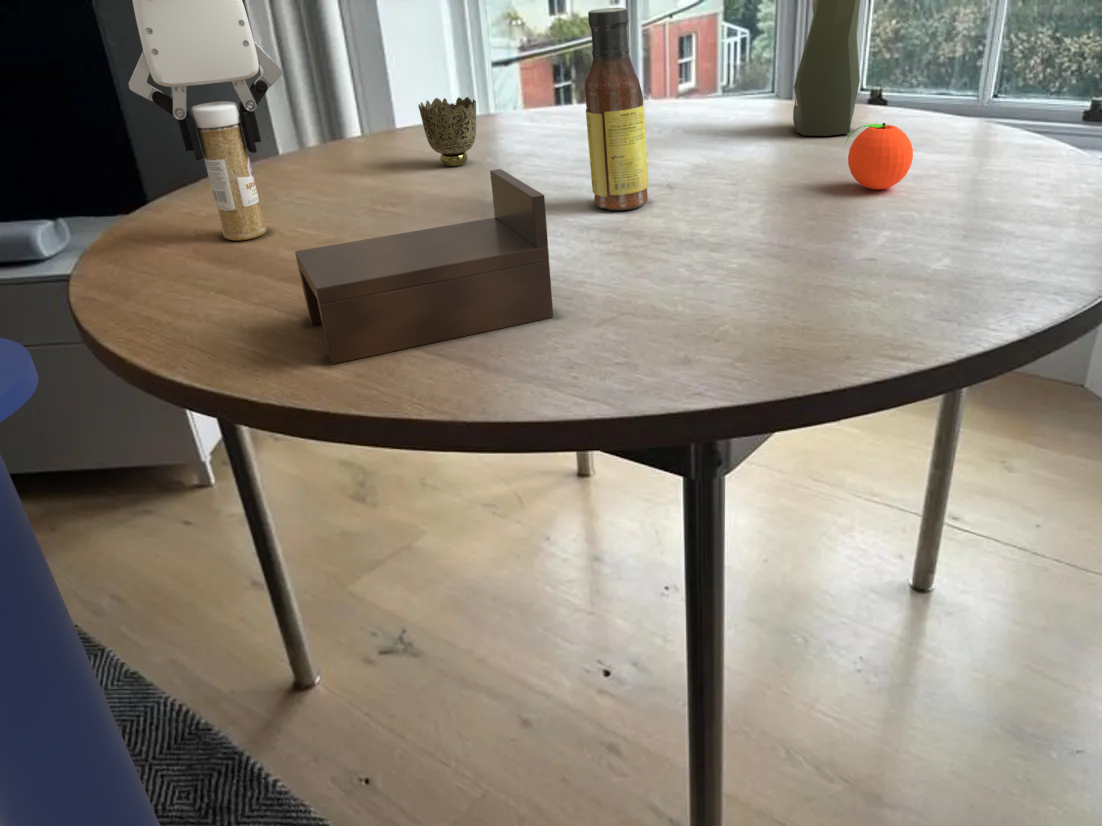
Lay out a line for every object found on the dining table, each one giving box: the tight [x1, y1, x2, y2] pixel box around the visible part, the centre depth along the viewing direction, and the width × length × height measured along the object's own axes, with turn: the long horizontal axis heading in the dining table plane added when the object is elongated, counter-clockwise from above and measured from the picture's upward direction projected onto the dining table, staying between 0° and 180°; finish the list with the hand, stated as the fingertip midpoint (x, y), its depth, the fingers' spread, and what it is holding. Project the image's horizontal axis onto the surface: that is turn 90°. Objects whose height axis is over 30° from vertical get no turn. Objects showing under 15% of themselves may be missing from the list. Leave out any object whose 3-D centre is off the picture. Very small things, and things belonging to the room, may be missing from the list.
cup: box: [418, 96, 477, 167], centre depth 122 cm, size 8×7×8 cm
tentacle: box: [792, 0, 861, 137], centre depth 123 cm, size 9×12×30 cm
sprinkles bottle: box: [190, 101, 267, 241], centre depth 97 cm, size 5×5×14 cm
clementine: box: [844, 122, 914, 191], centre depth 103 cm, size 8×7×7 cm
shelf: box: [294, 168, 554, 365], centre depth 74 cm, size 18×10×10 cm, turn 115°
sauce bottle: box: [584, 7, 649, 211], centre depth 99 cm, size 7×6×20 cm
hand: (225, 152), depth 96 cm, fingers closed on sprinkles bottle, 4 cm apart
